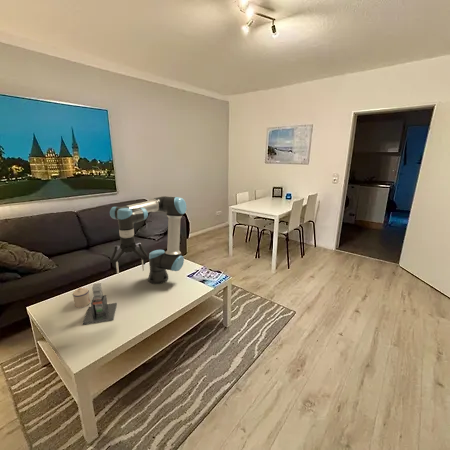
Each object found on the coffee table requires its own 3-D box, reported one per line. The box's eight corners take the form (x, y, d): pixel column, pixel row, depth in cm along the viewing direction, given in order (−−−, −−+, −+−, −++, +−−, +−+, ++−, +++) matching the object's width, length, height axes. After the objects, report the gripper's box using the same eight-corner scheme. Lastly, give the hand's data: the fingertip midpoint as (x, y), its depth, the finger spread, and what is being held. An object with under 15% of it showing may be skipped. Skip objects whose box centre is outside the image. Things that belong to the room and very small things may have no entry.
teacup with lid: (93, 303, 161) (90, 287, 158) (78, 310, 154) (75, 293, 151) (84, 297, 168) (82, 281, 165) (70, 303, 161) (67, 287, 158)
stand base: (89, 308, 155) (86, 293, 152) (116, 304, 160) (114, 290, 157) (82, 325, 140) (80, 308, 138) (113, 320, 145) (111, 304, 142)
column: (97, 310, 151) (93, 284, 146) (104, 309, 152) (101, 283, 147) (96, 315, 146) (91, 288, 142) (103, 314, 148) (99, 287, 143)
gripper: (101, 240, 130) (106, 277, 135) (150, 236, 137) (153, 271, 143) (103, 236, 136) (107, 271, 142) (150, 232, 144) (152, 265, 150)
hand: (130, 271), depth 143 cm, fingers open, 13 cm apart
